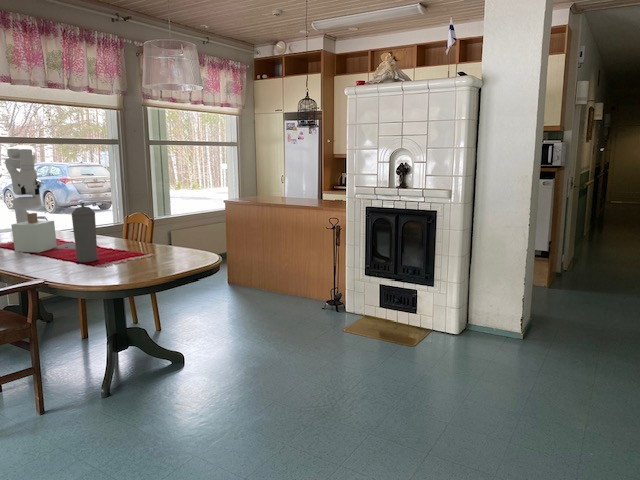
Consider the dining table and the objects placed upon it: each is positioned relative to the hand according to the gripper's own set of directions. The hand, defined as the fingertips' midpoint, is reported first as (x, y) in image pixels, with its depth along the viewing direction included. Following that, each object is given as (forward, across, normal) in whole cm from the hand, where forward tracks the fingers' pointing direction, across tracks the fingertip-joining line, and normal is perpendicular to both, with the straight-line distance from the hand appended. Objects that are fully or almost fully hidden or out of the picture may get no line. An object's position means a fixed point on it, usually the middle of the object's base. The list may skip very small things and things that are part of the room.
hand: (30, 194), depth 312 cm
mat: (+36, +16, +14) cm, 42 cm away
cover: (+36, 0, 0) cm, 36 cm away
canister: (+36, +52, -24) cm, 68 cm away
